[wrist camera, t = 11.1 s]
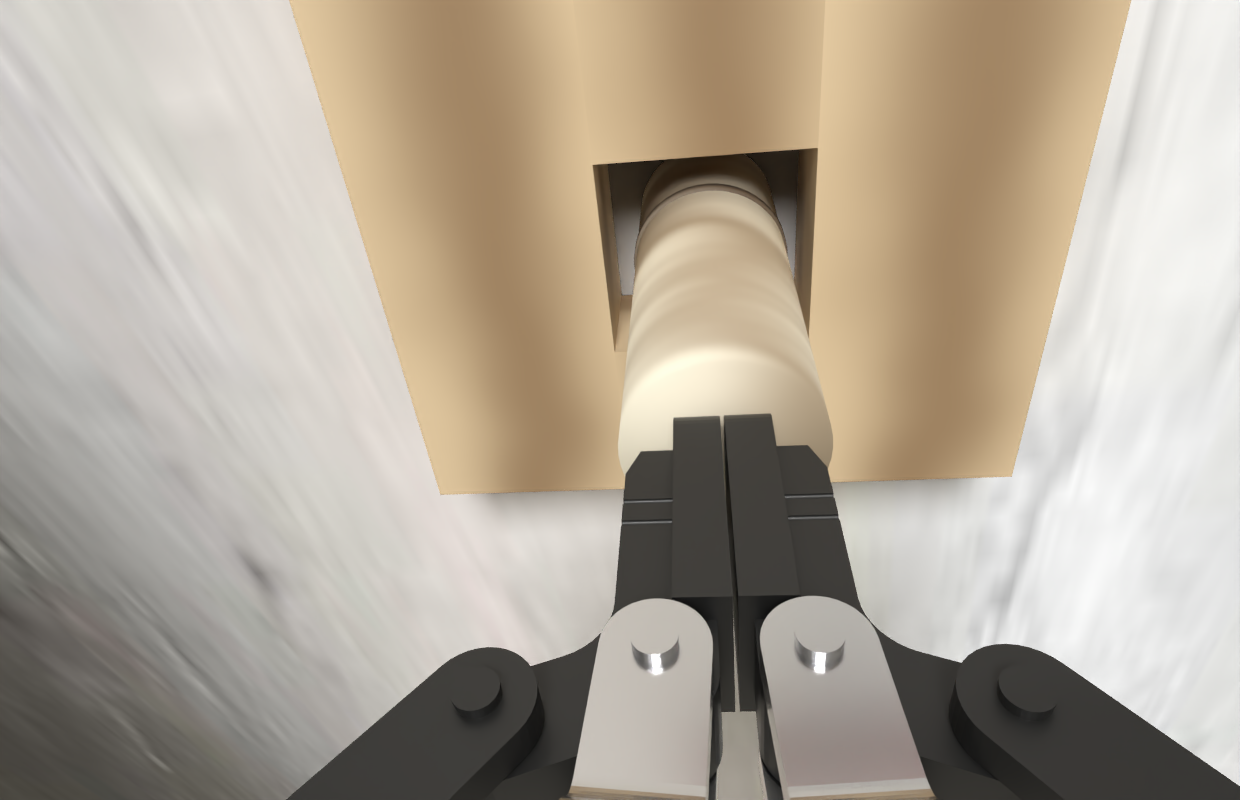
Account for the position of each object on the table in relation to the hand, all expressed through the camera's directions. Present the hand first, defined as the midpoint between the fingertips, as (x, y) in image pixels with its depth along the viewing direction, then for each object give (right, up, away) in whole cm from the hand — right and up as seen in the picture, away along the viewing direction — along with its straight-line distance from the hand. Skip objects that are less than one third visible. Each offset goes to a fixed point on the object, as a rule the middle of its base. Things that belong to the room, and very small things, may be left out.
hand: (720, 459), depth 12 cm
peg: (+1, +6, +8) cm, 10 cm away
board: (+1, +6, +8) cm, 10 cm away
